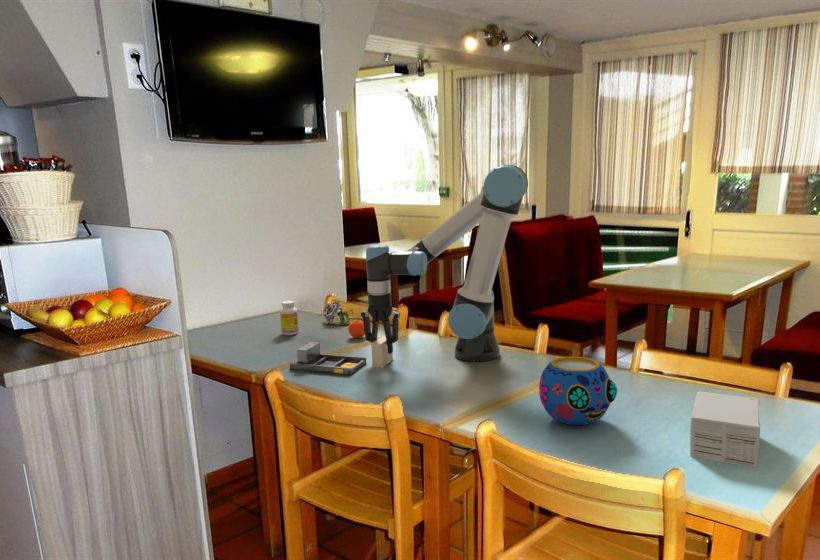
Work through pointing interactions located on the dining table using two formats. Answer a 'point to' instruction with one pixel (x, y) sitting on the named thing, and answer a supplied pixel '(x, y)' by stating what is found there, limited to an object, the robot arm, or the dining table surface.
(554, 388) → the ceramic pot
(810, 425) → the dining table surface
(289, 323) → the supplement bottle
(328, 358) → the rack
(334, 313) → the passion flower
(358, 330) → the clementine
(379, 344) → the cream rectangular block
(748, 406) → the supplement box
